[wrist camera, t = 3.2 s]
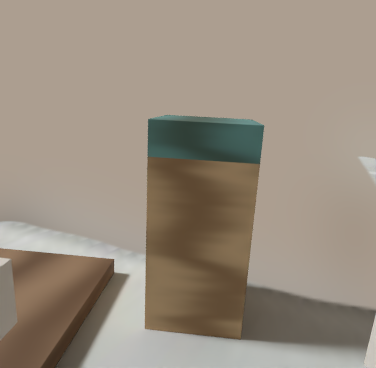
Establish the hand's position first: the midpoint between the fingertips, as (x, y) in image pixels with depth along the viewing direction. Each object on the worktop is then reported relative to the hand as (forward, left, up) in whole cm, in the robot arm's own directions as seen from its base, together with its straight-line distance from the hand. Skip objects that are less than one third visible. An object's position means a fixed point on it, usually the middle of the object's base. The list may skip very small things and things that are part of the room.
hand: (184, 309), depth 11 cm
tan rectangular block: (0, -10, -7) cm, 12 cm away
